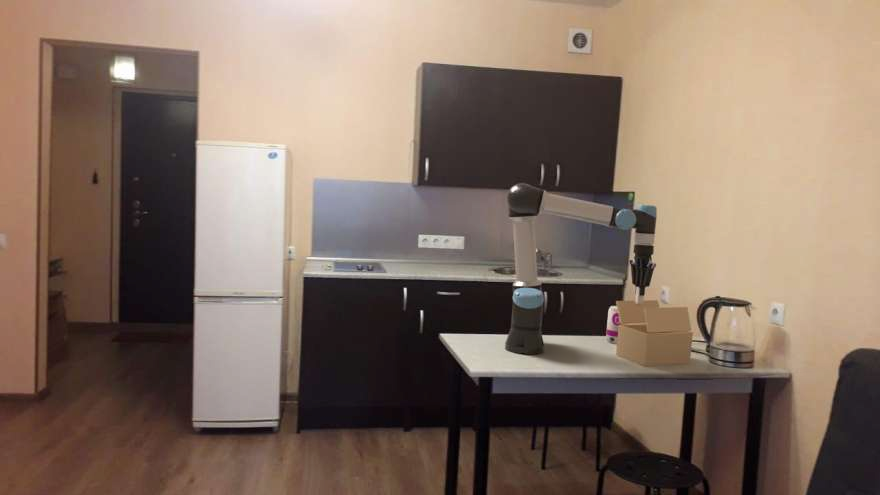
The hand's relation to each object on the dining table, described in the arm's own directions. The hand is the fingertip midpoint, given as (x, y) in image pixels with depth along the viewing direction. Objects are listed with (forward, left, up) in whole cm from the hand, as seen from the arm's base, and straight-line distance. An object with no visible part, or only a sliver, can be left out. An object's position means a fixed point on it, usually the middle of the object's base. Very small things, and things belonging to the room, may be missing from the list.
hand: (639, 303), depth 254 cm
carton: (0, -10, -20) cm, 22 cm away
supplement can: (+4, +17, -20) cm, 27 cm away
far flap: (0, -1, -3) cm, 3 cm away
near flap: (0, -16, -3) cm, 16 cm away
